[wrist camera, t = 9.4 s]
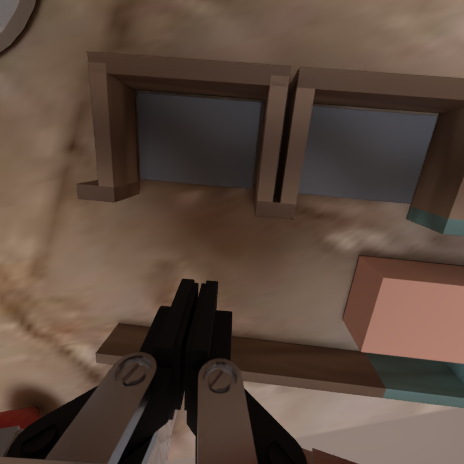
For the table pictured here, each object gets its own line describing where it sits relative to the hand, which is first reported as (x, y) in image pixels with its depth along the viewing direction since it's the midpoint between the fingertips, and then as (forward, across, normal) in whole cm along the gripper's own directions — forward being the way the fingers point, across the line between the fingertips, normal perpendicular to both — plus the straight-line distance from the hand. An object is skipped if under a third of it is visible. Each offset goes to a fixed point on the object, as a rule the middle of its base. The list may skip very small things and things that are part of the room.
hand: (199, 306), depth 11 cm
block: (+5, -13, +2) cm, 14 cm away
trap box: (+6, -6, -1) cm, 8 cm away
